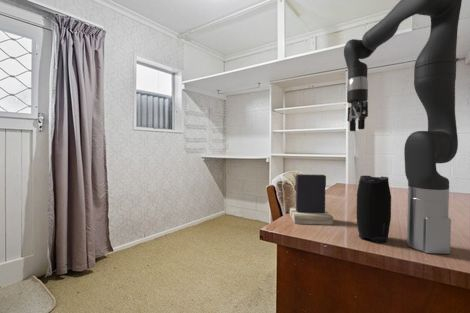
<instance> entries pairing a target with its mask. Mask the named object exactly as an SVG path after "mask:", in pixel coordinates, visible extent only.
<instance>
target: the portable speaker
mask: <svg viewBox="0 0 470 313" xmlns="http://www.w3.org/2000/svg"><path fill="white" fill-rule="evenodd" d="M356 192H357V193H356V223H357V230H358V237H359V238H360V239H361V240H364V239H369V240H371V241H373V242H374V243H376V244H385V243H386V242H387V239H388V238H389V232H390V227H391V220H392V195H391V194H392V193H391V188H390V182H389V176H383V175H382V176H380V177H379V176H378V177H377V176H371V175H360V177H359V180H358V186H357V191H356Z"/></svg>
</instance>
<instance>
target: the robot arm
mask: <svg viewBox="0 0 470 313" xmlns="http://www.w3.org/2000/svg"><path fill="white" fill-rule="evenodd" d="M462 1H463V0H399V1H398V3H397V4H396V5H395V6H394V7H393V8H392V9H391V10H390V11H389V12H388V13H387V14H386V15H385V16H384V17H383V18H382V19H381V20H380V21H378V23H376V24H375V25H374V26H372V27H371V28H370V29H368V30H367V31H366V32H364V34H363V35H362V39H357V38H356V39H355V38H353V39H349V40H348V41H347V42H346V43H345V45H344V47H343V57H344V60H345V64H346V67H347V86H346V88H347V89H346V95H347V96H346V102H347V103H348V104H351V105H350V106H349V107H347V118H346V119H347V122H349V131H350V132H355V131H356V130H357V129H358V130H365V126H366V124H365V120H366V119H367V117H369V109H368V108H369V102H368V100H369V99H368V98H369V96H368V94H369V82H368V81H369V80H368V65H367V64H366V62H363V61H361V60H364V59H365V60H366V59H367V58H369V57H371V55H373V53H374V52H375V51H376V50H377V48H378V47H381V46H382V45H383V44H385V43H386V42H388V41H389V40H390V39H392V37H394V35H395V34H396V33H397V31H398V29H399V27H400V24H402V22H404V21H405V20H407V19H409V18H410V17H413V16H415V15H418V16H419V15H420V16H428V17H430V18H429V19H430V33H429V37H428V39H427V41H426V43H425V45H424V46H423V48H422V49H421V51H420V53H419V54H418V56H417V58H416V61H415V62H414V72H413V75H414V76H413V86H414V89H415V90H414V91H415V93H416V96H417V97H418V99H419V101H420V103H421V104H422V106H423V108H424V110H425V113H426V116H427V117H426V118H427V130H417V131H413V132H412V133H410V134H409V136H407V138H406V140H405V143H404V149H403V150H404V151H403V152H404V153H403V154H404V155H403V157H404V173H405V176H406V179H407V215H406V216H407V217H406V218H407V219H406V225H407V226H406V244H407V246H408V247H410V248H412V249H414V250H418V251H419V252H420V251H422V252H424V253H425V254H445V255H446V254H447V255H451V240H452V238H451V232H452V230H451V228H452V220H451V218H450V217H449V210H450V209H449V207H450V206H449V205H450V204H449V203H450V180H449V179H448V178H447V177H445V176H443V175H441V174H440V173H439V172H438V170H437V164H446V163H449V162H450V161H452V160H453V159H454V158H455V156H456V154H457V152H458V148H459V141H458V140H459V137H458V130H457V119H456V79H457V78H456V77H457V47H458V46H457V45H458V30H459V29H458V27H459V21H460V15H461V14H460V13H461V8H462V3H463V2H462ZM357 119H358V120H357ZM356 126H357V127H356ZM356 128H357V129H356Z"/></svg>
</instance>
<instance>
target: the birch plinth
mask: <svg viewBox="0 0 470 313" xmlns="http://www.w3.org/2000/svg"><path fill="white" fill-rule="evenodd" d="M289 216H290V218H291V220H292V221H293V223H294V224H295V225H296V224H298V225H323V226H325V225H326V226H327V225H329V226H330V225H332V226H333V225H334V222H333V221H334V216H333V215H331V214H330V213H329V212H328V211H327V210H326V209H325V213H301V212H297V211H296V207H292V206H291V207H289Z"/></svg>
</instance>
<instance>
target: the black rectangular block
mask: <svg viewBox="0 0 470 313" xmlns="http://www.w3.org/2000/svg"><path fill="white" fill-rule="evenodd" d="M326 186H327V176H326V174H305V173H304V174H301V173H300V174H296V175H295V208H296V211H297V212H301V213H325V210H326Z"/></svg>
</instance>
